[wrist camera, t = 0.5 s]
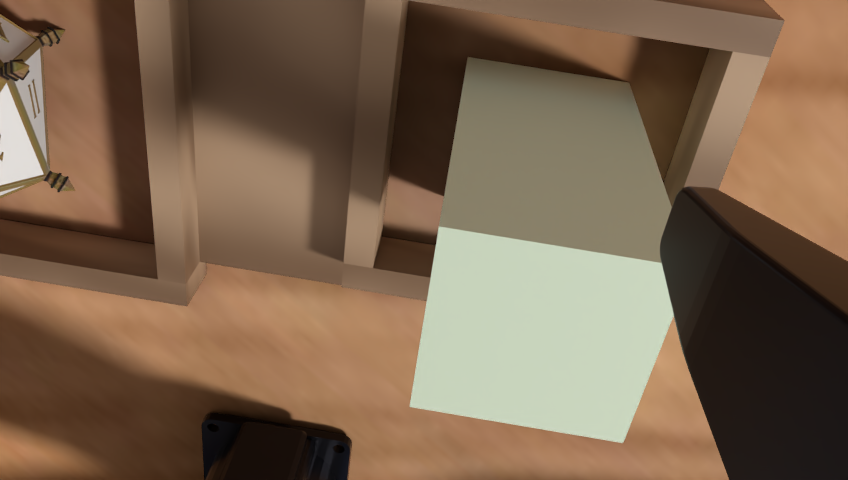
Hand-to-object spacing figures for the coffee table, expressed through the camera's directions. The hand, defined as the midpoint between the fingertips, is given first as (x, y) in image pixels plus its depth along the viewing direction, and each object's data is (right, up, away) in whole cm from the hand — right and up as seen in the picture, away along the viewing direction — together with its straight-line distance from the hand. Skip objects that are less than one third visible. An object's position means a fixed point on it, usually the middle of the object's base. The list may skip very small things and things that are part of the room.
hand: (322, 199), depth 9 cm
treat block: (+5, +3, +15) cm, 16 cm away
